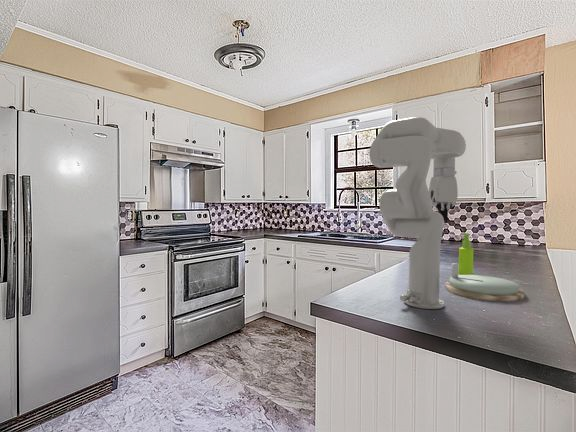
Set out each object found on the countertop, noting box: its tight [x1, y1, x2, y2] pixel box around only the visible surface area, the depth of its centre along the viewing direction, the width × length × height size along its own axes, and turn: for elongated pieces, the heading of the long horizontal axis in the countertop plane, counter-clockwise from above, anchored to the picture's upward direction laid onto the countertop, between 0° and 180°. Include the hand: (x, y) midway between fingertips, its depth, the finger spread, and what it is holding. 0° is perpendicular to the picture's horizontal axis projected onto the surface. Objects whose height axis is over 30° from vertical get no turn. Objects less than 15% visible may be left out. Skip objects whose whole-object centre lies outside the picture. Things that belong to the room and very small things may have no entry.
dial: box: [449, 262, 521, 295], centre depth 125 cm, size 23×23×8 cm
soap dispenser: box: [458, 232, 475, 275], centre depth 150 cm, size 6×7×20 cm
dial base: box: [444, 280, 526, 303], centre depth 125 cm, size 26×26×2 cm
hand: (442, 220), depth 126 cm, fingers closed
